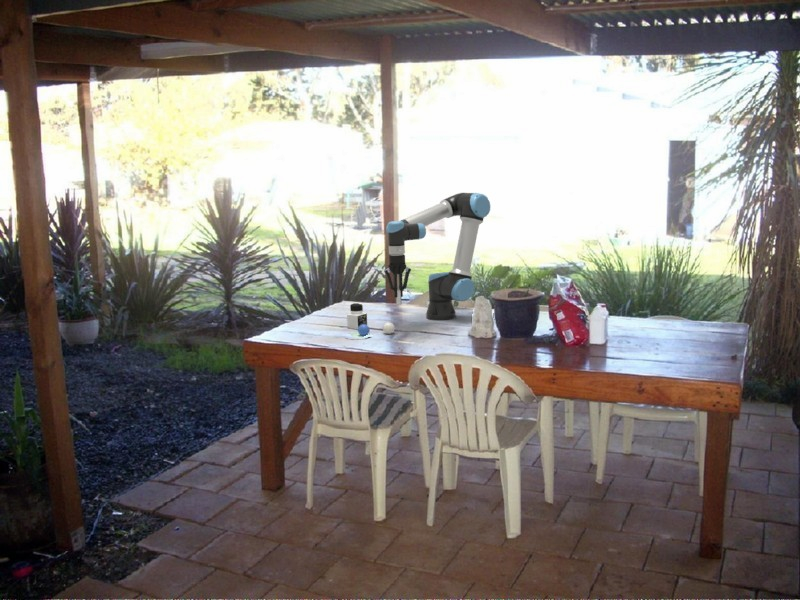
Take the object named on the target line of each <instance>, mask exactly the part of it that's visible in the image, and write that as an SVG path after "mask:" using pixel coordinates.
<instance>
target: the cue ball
mask: <svg viewBox="0 0 800 600" xmlns="http://www.w3.org/2000/svg"><path fill="white" fill-rule="evenodd" d="M382 330H383V332H384V333H385V334H387V335H390V334H393V333H394V331H395V325H394V323H392V322H390V321H388V322H385V323H384V324H383V326H382Z"/></svg>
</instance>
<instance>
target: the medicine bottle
mask: <svg viewBox="0 0 800 600" xmlns="http://www.w3.org/2000/svg"><path fill="white" fill-rule="evenodd" d="M349 307H350V312H349V313H346V318H347V319H346V321H347V323H346V324H347V329H350V330H351V329H352V330H358V328H359V326H360V325H362V324H365V325H367V326H368V314H367V312H364V307H363V303H359V302H355V303H351V304H350V306H349Z"/></svg>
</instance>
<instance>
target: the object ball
mask: <svg viewBox="0 0 800 600" xmlns="http://www.w3.org/2000/svg"><path fill="white" fill-rule="evenodd" d="M357 333H359V334H360V335H362V336H366V335H368V333H370V327H369V325H368V324H367V325H365V324H362V325H360V326H359V328H358V329H357Z"/></svg>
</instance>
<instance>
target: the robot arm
mask: <svg viewBox="0 0 800 600" xmlns="http://www.w3.org/2000/svg"><path fill="white" fill-rule="evenodd" d="M490 212H491V202H490V200H489V198H488V197H487V195H485V194H484V193H479V192H459V193H456V194H453V195H450V196H449V197H446V198H444V199H441V201H440V202H439V203H438V204H435V205H433V206H431V207H429V208H426V209H424V210H421V211H420V212H419V211H418V212H417V213H415V214H413V215H410V216H407V217H406V218H404V219H401V220H394V221H393V220H392V221H389V222H388V223H387V225H386V227H385V232H386V234H387V236H388V237H387V238H388V239H387V240H388V241H387V242H388V243H387V244H388V254H389V255H388V268H386V269H384V270H383V272H384V274H385V275H386V278H387V281H388V282H387V283H388V286H389V289H390V290H392V291H393V294H394V298H396V305H401V304H402V298H403V296H404V295H403V294H404V293H403V291H404V290H406V289H407V287H408V281H409V277H410V273H411V271H412V269H411V268H410V267H407V264H406V255H405V253H406V250H405V249H406V248H405V247H406V246H405V244H406V243H405V242H407V241H414V240H415V241H416V240H421V239H424V238H425V237H426V234H427V228H426V227H427V226H430V225H432V224H433V223H436V222H439V221H440V220H442V219H445V218H446V219H449V218H452V217H459V219H460V220H461V226H460V231H459V235H458V241H457V246H456V251H455V256H454V260H453V266H452V269H450V270H449V271H446V272H435V273H430V274H429V275H428V297H429V298H428V302H429V304H428V306H427V309H426V315H425V316H426V318H427V319H428V320H432V321H434V320H435V321H445V320H446V321H447V320H452V319H455V318H456V317H457V311H456V310H455V309H456V308H455V306H454V304H453V301H455V302H466V301H469V299H470V298H471V297H472V296H473V294H474V292H475V284H474V282H473V280H472V278H473V276H472V274H471V268H472V267H471V266H472V262H473V257H474V251H475V248H476V243H477V238H478V237H477V236H478V232H479V227H480V225H481V224H482V223H483V222H484V219H485V218H486V217H487V216H488V215H489V214H490ZM404 272H405V273H404ZM390 273H392V276H393V279H392V278H391V274H390ZM403 273H404V278H403ZM403 279H404V280H403ZM392 280H393V281H392ZM454 317H455V318H454Z"/></svg>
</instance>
